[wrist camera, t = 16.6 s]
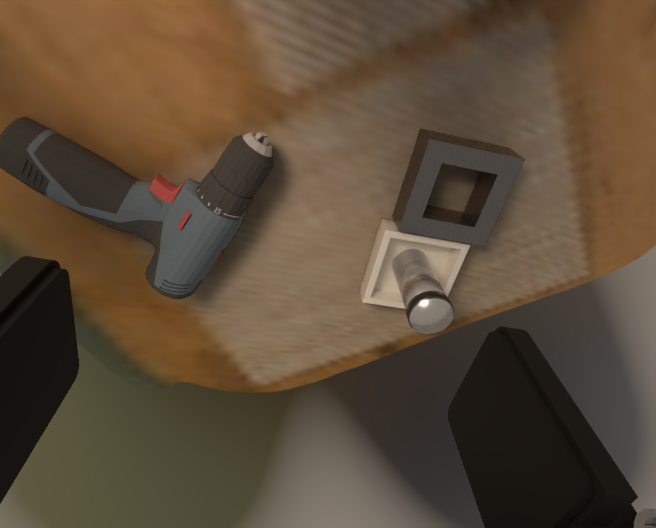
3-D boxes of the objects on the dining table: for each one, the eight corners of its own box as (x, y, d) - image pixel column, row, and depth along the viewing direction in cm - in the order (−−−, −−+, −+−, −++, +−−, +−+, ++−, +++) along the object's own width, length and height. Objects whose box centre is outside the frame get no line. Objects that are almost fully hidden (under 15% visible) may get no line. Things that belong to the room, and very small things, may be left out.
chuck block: (420, 128, 39) (429, 139, 36) (509, 148, 41) (524, 159, 38) (392, 215, 44) (398, 230, 41) (472, 230, 45) (484, 246, 42)
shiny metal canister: (397, 245, 45) (417, 295, 37) (434, 251, 46) (461, 302, 38) (386, 277, 47) (403, 331, 40) (422, 282, 48) (445, 337, 40)
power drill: (78, -5, 33) (292, 145, 40) (8, 181, 41) (198, 280, 48) (43, -5, 29) (291, 164, 36) (-29, 204, 36) (187, 309, 43)
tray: (381, 218, 44) (385, 229, 42) (462, 233, 45) (470, 244, 43) (359, 288, 49) (362, 302, 46) (433, 300, 50) (439, 313, 48)
